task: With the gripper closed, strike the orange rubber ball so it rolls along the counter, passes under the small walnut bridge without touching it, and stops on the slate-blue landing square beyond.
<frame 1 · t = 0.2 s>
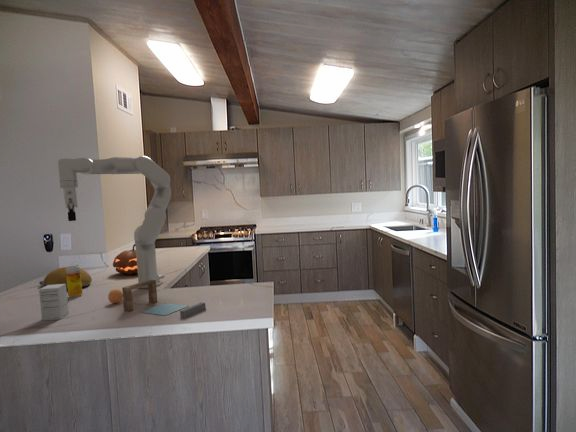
hand: (72, 220, 196), 37 cm above the countertop, tool pointing down, fingers open, 9 cm apart
supplement box: (55, 317, 164), on the countertop
bridge: (141, 306, 173), on the countertop
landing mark: (165, 309, 166), on the countertop
ball: (115, 296, 180), on the countertop
stopper: (193, 313, 158), on the countertop
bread: (70, 285, 226), on the countertop
beer can: (75, 296, 198), on the countertop
pumpkin: (135, 273, 251), on the countertop
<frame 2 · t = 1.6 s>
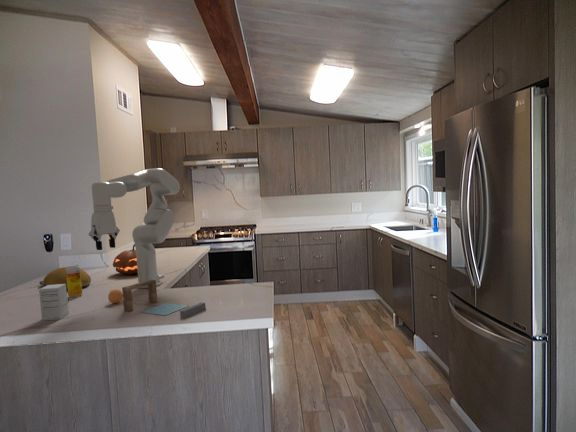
hand: (106, 248, 187), 24 cm above the countertop, tool pointing down, fingers open, 6 cm apart
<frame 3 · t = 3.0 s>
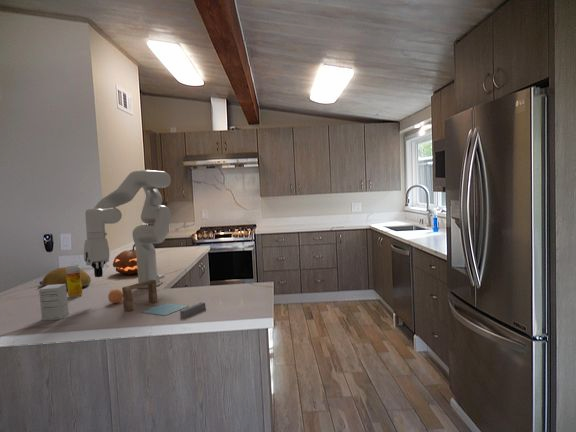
hand: (98, 276, 184), 11 cm above the countertop, tool pointing down, fingers closed
nothing on the countertop moved.
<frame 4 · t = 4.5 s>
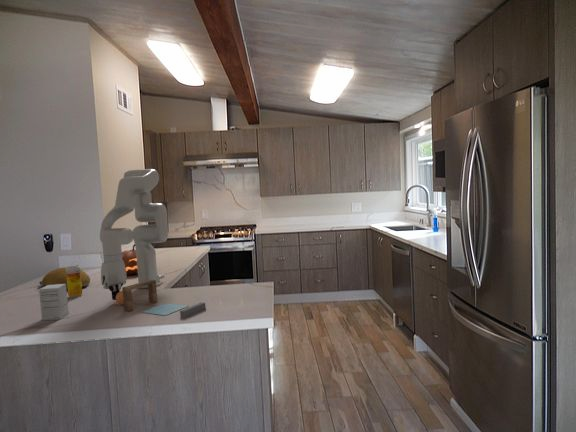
hand: (116, 299, 180), 2 cm above the countertop, tool pointing down, fingers closed
ball: (123, 297, 177), on the countertop
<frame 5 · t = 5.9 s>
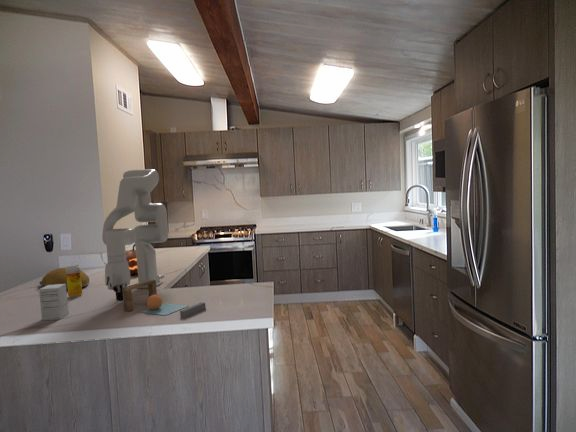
hand: (120, 300, 179), 2 cm above the countertop, tool pointing down, fingers closed
ball: (154, 302, 166), on the countertop
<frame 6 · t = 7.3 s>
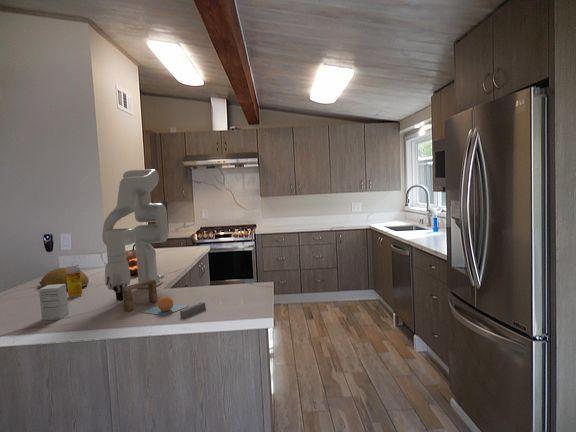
hand: (120, 300, 179), 2 cm above the countertop, tool pointing down, fingers closed
ball: (165, 303, 163), on the countertop
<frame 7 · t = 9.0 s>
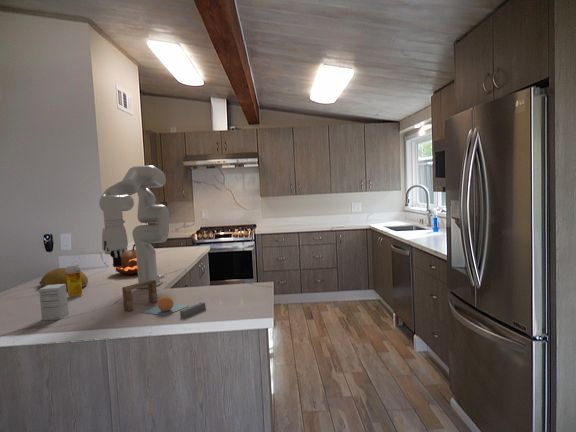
hand: (117, 265, 178), 17 cm above the countertop, tool pointing down, fingers closed
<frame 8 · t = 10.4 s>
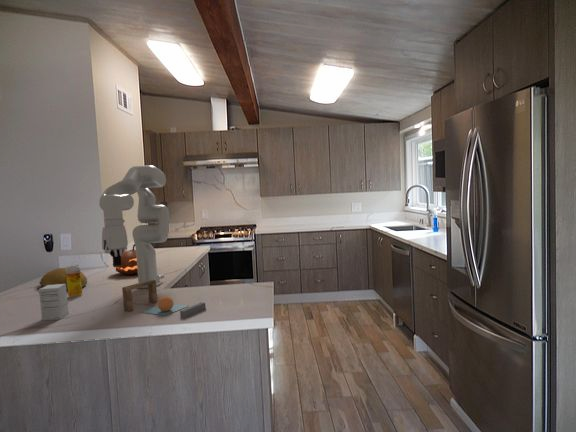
hand: (117, 265, 178), 17 cm above the countertop, tool pointing down, fingers closed
at the end: ball 3.0 cm from the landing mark (horizontally); ball never touched bridge; ball at rest at the end (0.0 cm/s) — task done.
